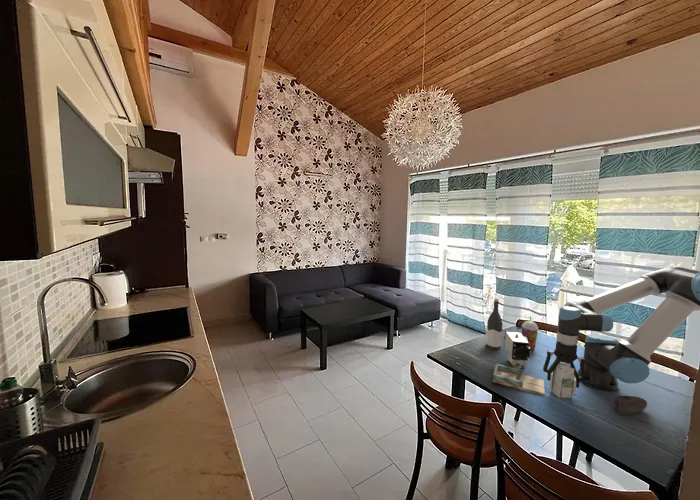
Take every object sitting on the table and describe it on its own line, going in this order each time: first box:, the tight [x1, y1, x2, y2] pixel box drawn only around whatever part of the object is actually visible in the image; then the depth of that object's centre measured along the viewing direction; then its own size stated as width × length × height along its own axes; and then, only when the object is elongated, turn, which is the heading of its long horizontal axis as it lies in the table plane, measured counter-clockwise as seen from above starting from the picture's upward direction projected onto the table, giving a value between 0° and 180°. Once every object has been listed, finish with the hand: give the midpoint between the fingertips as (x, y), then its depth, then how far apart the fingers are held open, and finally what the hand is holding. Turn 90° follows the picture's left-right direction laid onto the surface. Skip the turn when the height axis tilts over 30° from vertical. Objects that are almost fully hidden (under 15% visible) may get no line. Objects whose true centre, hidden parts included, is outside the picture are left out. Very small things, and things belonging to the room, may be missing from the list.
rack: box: [492, 363, 546, 397], centre depth 143 cm, size 21×12×4 cm, turn 58°
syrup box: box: [550, 362, 575, 399], centre depth 133 cm, size 6×6×14 cm
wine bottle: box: [485, 297, 503, 350], centre depth 179 cm, size 8×8×30 cm
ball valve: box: [503, 330, 531, 370], centre depth 158 cm, size 18×8×18 cm, turn 168°
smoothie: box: [521, 316, 539, 352], centre depth 177 cm, size 8×8×20 cm
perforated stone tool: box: [612, 394, 648, 415], centre depth 122 cm, size 15×5×7 cm, turn 96°
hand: (561, 390), depth 133 cm, fingers closed on syrup box, 8 cm apart
